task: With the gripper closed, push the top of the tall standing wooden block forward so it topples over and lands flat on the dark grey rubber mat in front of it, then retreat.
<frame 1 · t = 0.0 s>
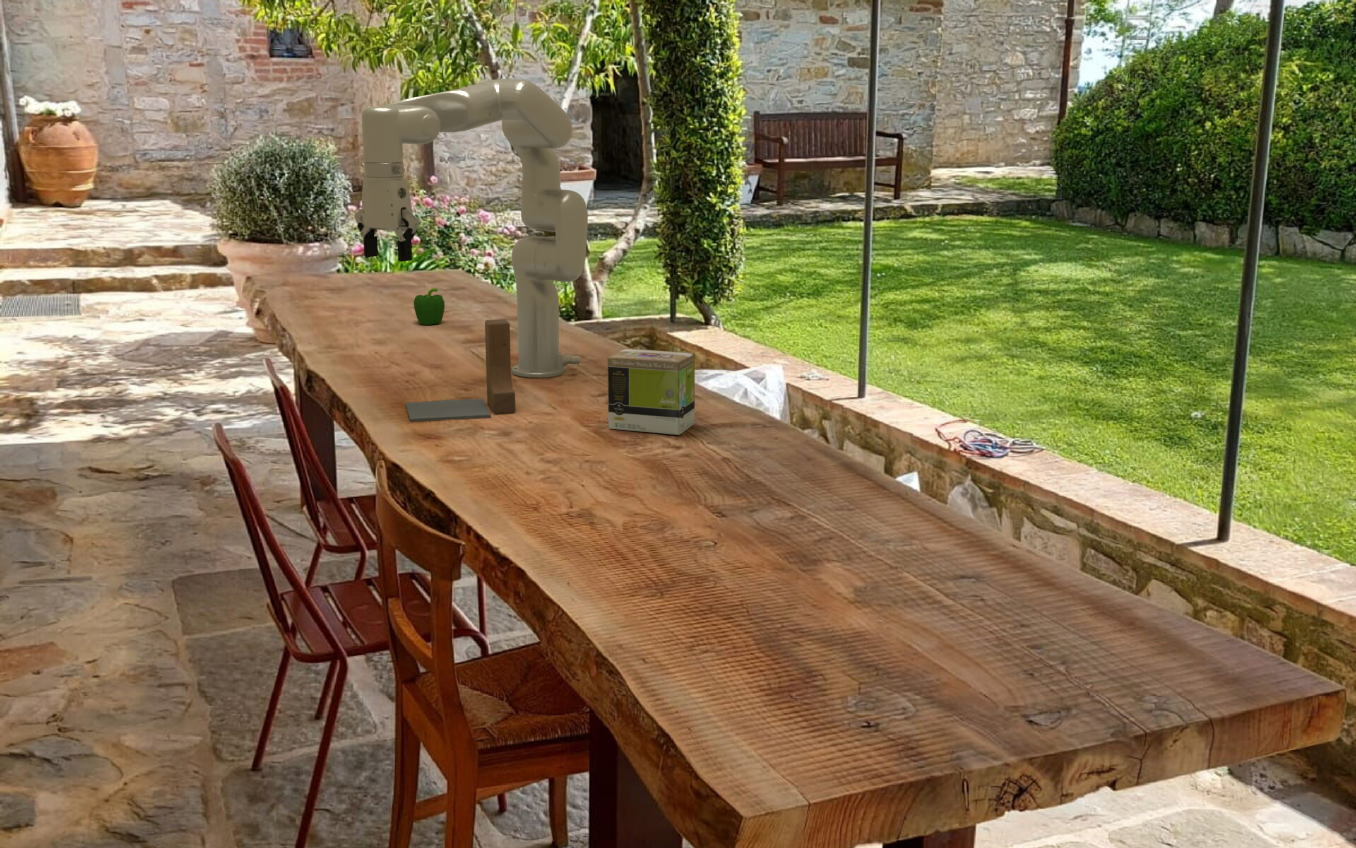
hand: (388, 258, 257), 31 cm above the table, tool pointing down, fingers open, 9 cm apart
mat: (447, 411, 265), on the table
wooden block: (501, 409, 268), on the table
tea box: (651, 428, 255), on the table
bell pepper: (429, 324, 359), on the table
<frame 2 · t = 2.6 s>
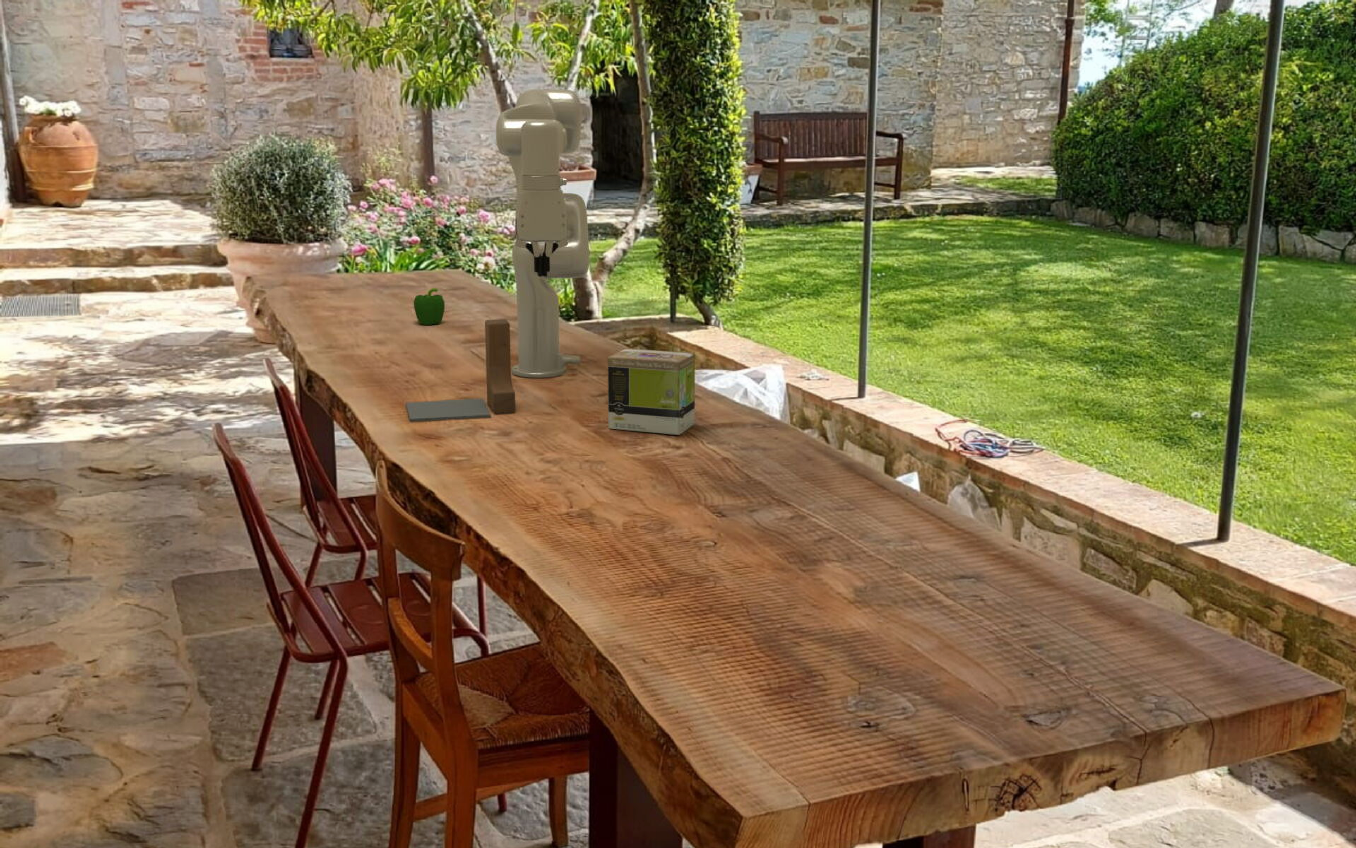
hand: (542, 275, 263), 28 cm above the table, tool pointing down, fingers closed
nothing on the table moved.
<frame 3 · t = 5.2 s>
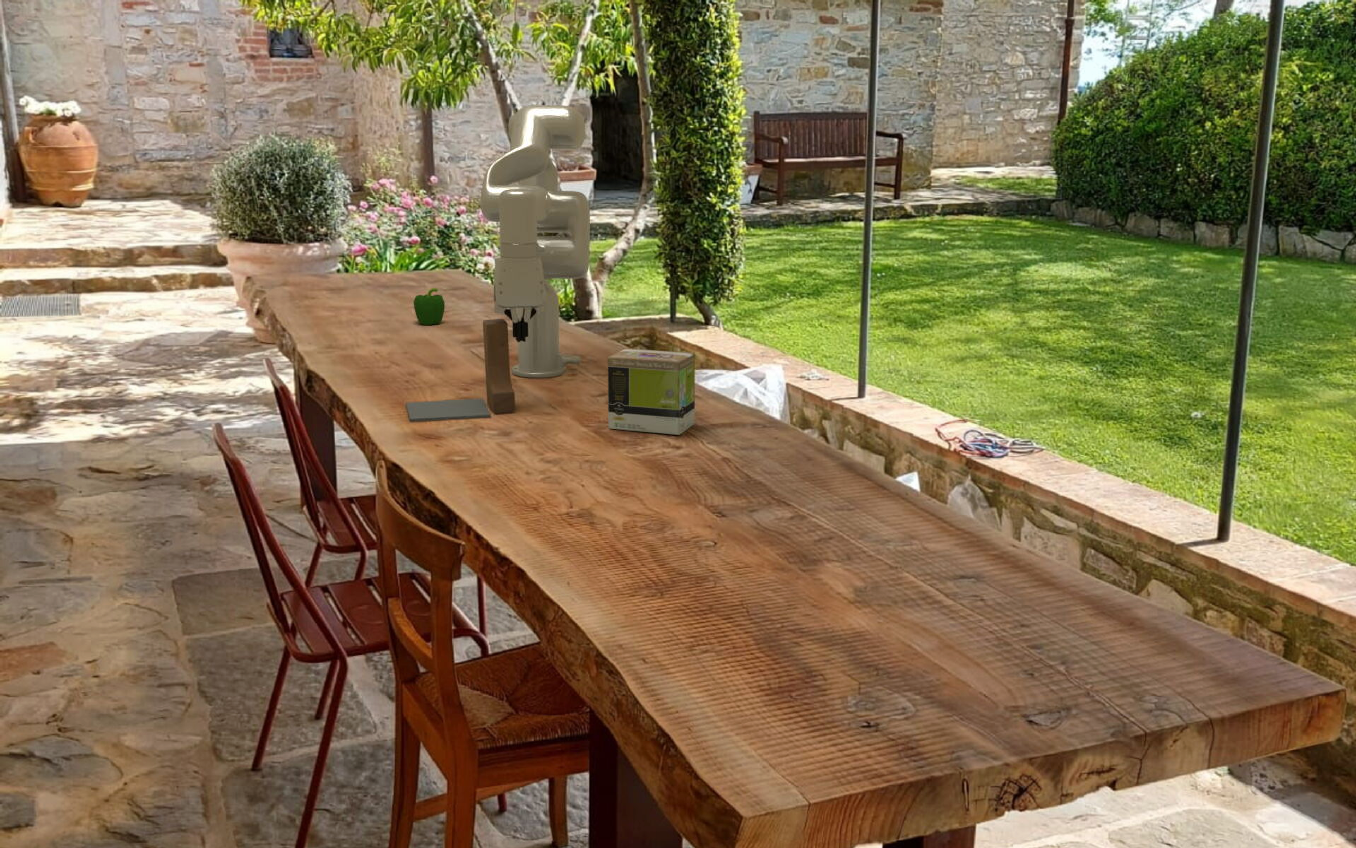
hand: (520, 340, 265), 14 cm above the table, tool pointing down, fingers closed
wooden block: (501, 409, 268), on the table, touching gripper
everything else where it was.
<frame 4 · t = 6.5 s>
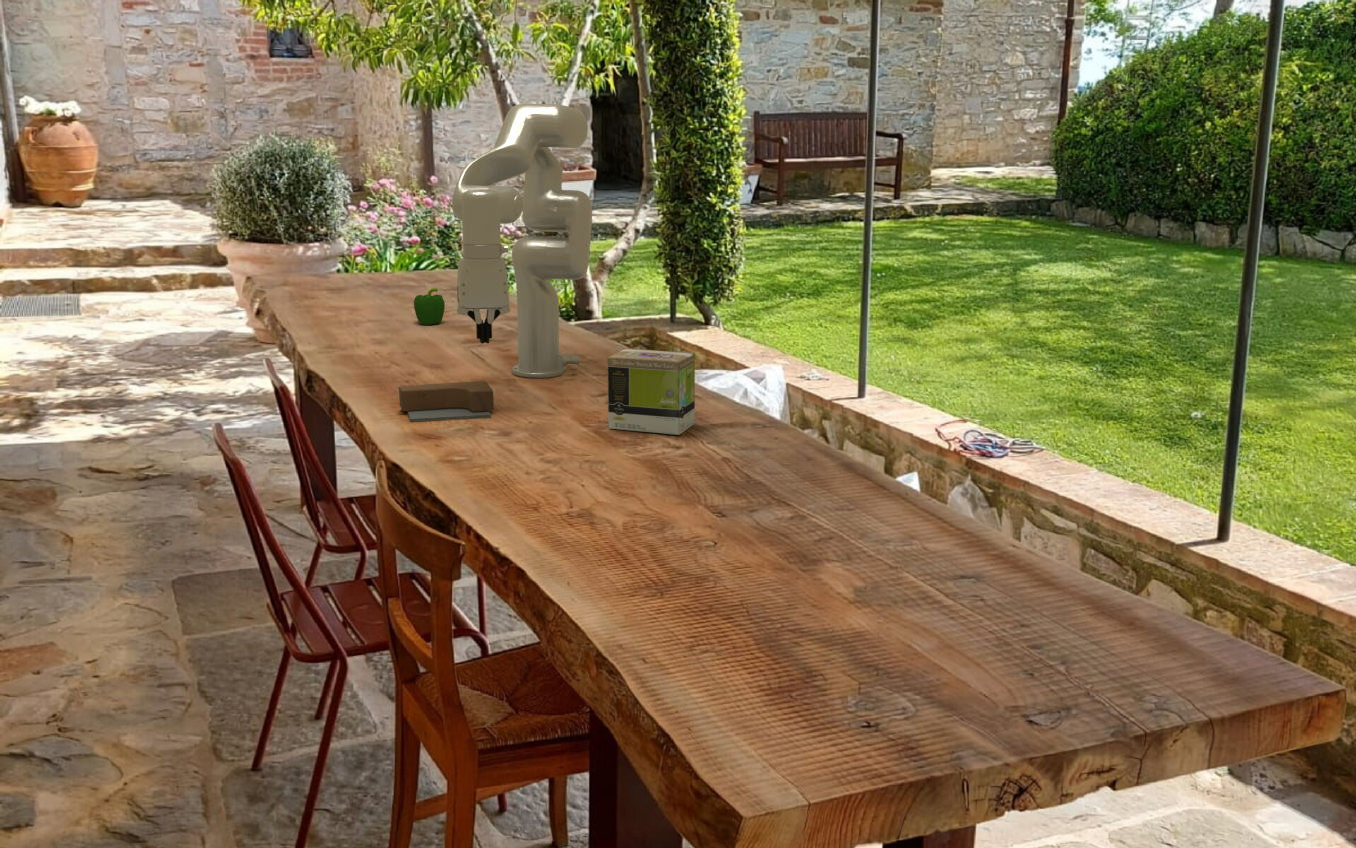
hand: (484, 341, 263), 14 cm above the table, tool pointing down, fingers closed
wooden block: (490, 395, 266), point 3 cm above the table, touching mat
everything else where it was.
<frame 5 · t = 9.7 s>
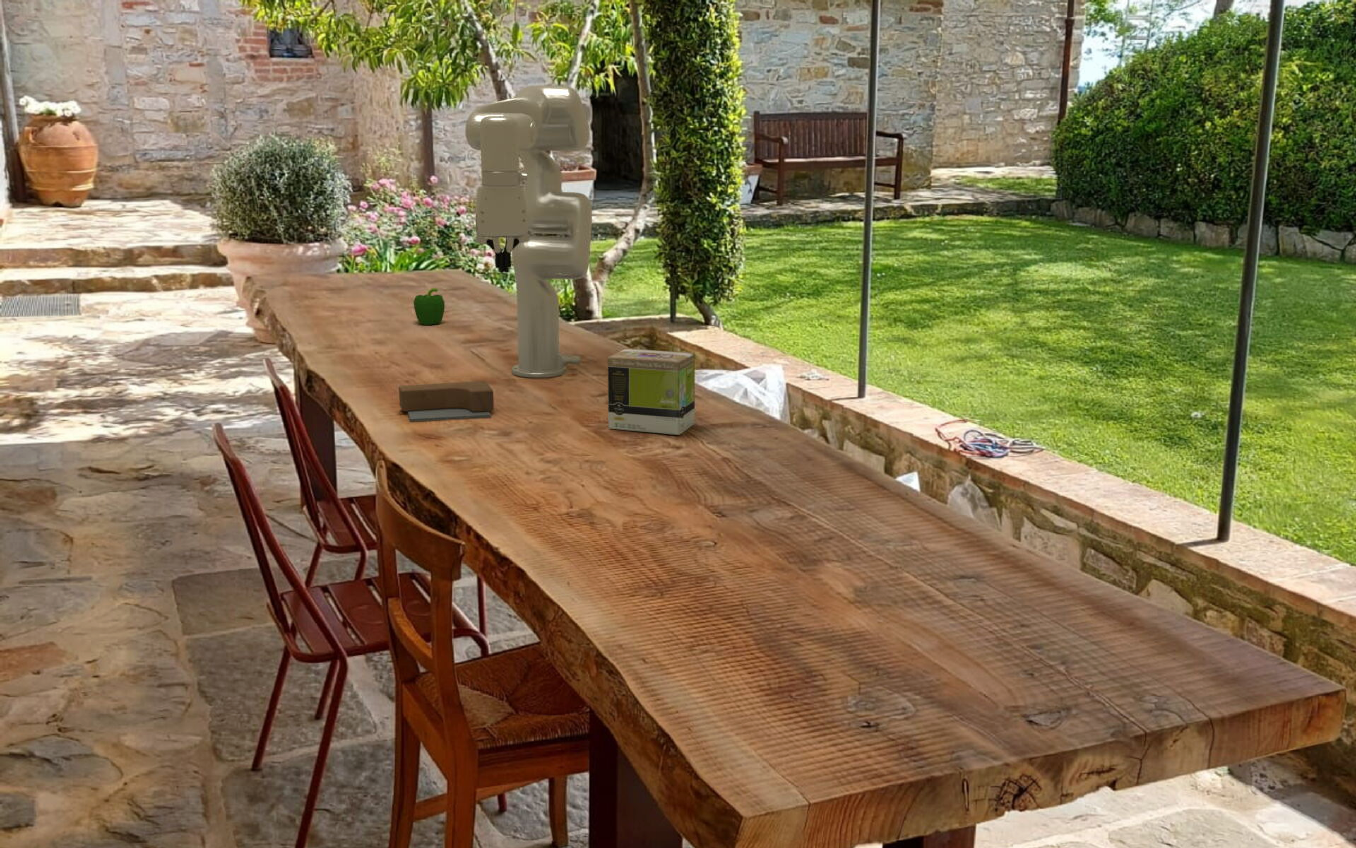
hand: (503, 271, 261), 28 cm above the table, tool pointing down, fingers closed
nothing on the table moved.
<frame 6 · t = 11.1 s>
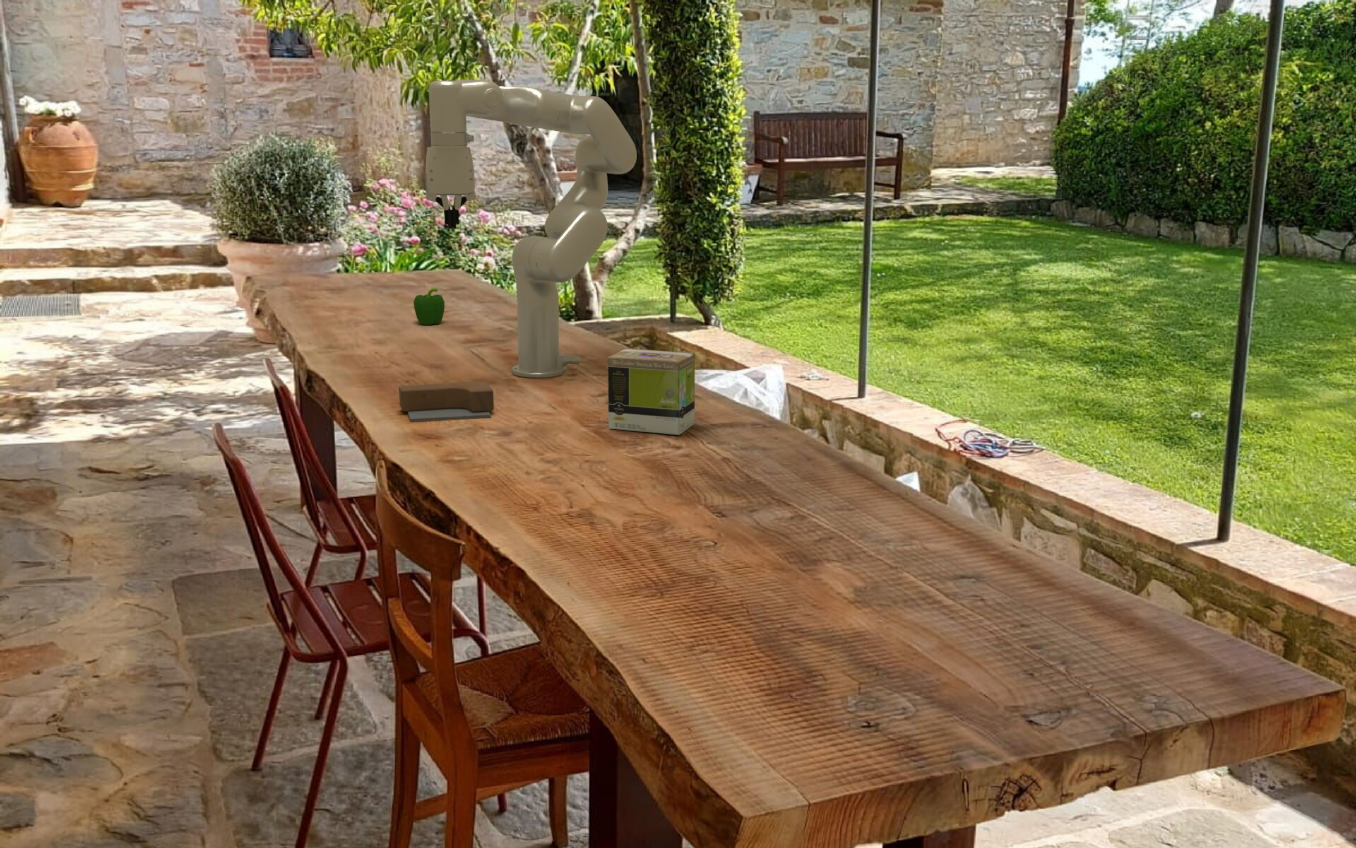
hand: (452, 227, 277), 35 cm above the table, tool pointing down, fingers closed
nothing on the table moved.
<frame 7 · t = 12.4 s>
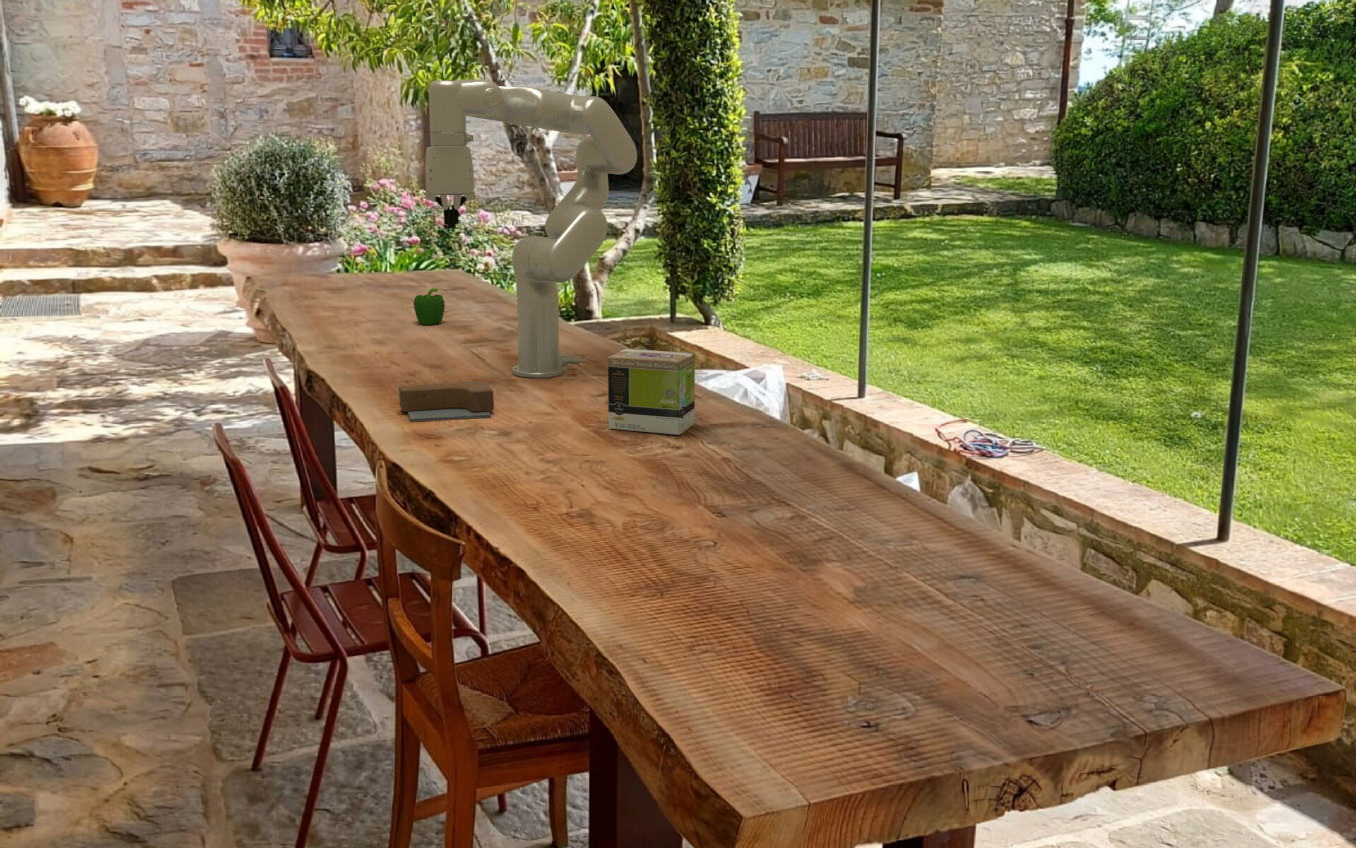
hand: (451, 227, 277), 35 cm above the table, tool pointing down, fingers closed
nothing on the table moved.
at the end: wooden block tilted 90°; wooden block inside the target area (8.0 cm from its centre), point 2.9 cm above the table; wooden block touching mat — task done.
